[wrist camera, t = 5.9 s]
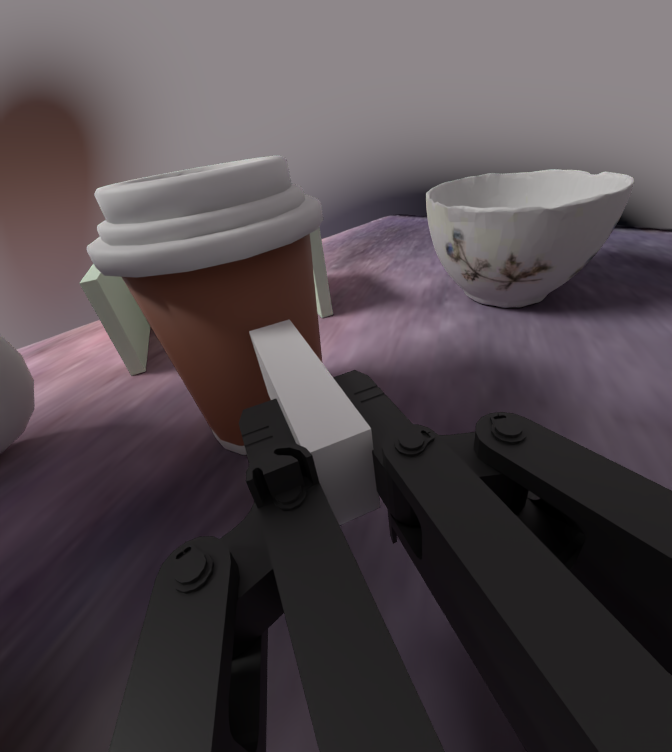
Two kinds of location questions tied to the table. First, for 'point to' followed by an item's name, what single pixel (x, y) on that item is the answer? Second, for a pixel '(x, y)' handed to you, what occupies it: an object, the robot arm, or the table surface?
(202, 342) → the coffee cup
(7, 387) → the donut
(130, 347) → the green u-shaped bracket
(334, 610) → the robot arm
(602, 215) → the teacup
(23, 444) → the table surface
